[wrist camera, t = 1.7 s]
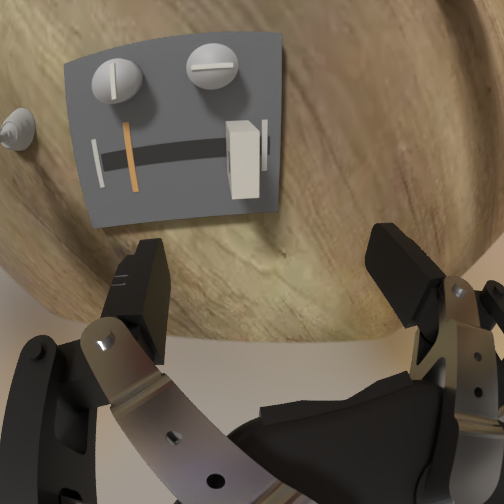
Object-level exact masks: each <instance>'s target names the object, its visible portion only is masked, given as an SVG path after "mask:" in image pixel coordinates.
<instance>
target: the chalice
mask: <svg viewBox="0 0 504 504" xmlns="http://www.w3.org/2000/svg"><path fill="white" fill-rule="evenodd" d="M34 134H35V122H34V118H33V116H32V114H31V113H30V111H29V110H27V109H25V108H18V109H16V110H15V111H13V112H12V113H11V115H10V116H9V117H8V118H7V119H6V120H5V121H4V123H3V125H2V127H1V130H0V143H2V145H3V146H4V147H5V148H7V149H8V150H16V151H22V150H25V149H26V148H27V147H29V145H30V144H31V142H32V141H33V137H34Z"/></svg>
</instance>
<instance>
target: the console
mask: <svg viewBox="0 0 504 504" xmlns="http://www.w3.org/2000/svg"><path fill="white" fill-rule="evenodd" d="M64 76H65V91H66V102H67V111H68V119H69V126H70V133H71V139H72V145H73V150H74V156H75V161H76V166H77V170H78V175H79V179H80V183H81V188H82V192H83V196H84V199H85V203H86V207H87V210H88V214H89V217H90V221H91V224H92V227H93V229H95V228H103V227H111V226H119V225H128V224H136V223H145V222H155V221H164V220H175V219H185V218H196V217H208V216H220V215H233V214H248V213H263V212H278V198H279V173H280V142H281V99H282V33H271V32H212V33H198V34H187V35H179V36H171V37H164V38H158V39H152V40H147V41H142V42H137V43H132V44H128V45H124V46H120V47H116V48H112V49H108V50H105V51H101V52H98V53H95V54H91V55H88V56H85V57H82V58H79V59H77V60H74V61H71V62H68V63H66V64H64ZM240 120H249V121H250V122H251V123H252V124H253V125H254V126H255V127H256V128H257V129H258V130H259V131H260V153H259V198H246V199H232V196H231V191H230V185H229V180H228V174H227V151H226V121H240Z"/></svg>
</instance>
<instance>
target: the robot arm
mask: <svg viewBox="0 0 504 504" xmlns="http://www.w3.org/2000/svg"><path fill="white" fill-rule="evenodd" d="M365 266H366V269H367V271H368V272H369V274H370V275H371V277H372V278H373V280H374V281H375V283H376V284H377V285H378V287H379V288H380V290H381V291H382V293H383V294H384V296H385V297H386V299H387V300H388V302H389V304H390V305H391V307H392V308H393V310H394V311H395V313H396V314H397V316H398V318H399V319H400V321H401V322H402V324H403V326H404V327H405V328H409V327H412V326H416V325H417V326H418V329H417V331H416V333H415V339H414V348H413V355H412V362H411V368H410V373H409V374H408V372H407V371H404V372H402V373H399V374H396V375H393V376H390V377H388V378H385V379H381V380H378V381H376V382H375V383H374V384H372V385H370V386H369V387H367V388H365V389H364V390H362V391H361V392H359V393H357V394H356V395H354V396H352V397H350V398H349V399H347V400H342V401H307V400H301V401H296V402H290V403H285V404H280V405H272V406H266V407H260V412H259V417H258V418H255V419H253V420H250V421H249V422H246V423H245V424H243V425H241V426H239V427H238V428H236V429H235V430H234V431H232V432H231V433H230V434H229V435H227V436H225V435H224V434H223V433H222V432H221V431H220V430H219V429H218V428H217V427H216V426H215V425H214V424H213V423H212V422H211V421H210V420H209V419H208V418H207V417H206V416H205V415H204V414H202V412H201V411H200V410H199V409H198V408H197V407H196V406H195V405H194V404H193V403H192V402H191V401H190V400H189V399H188V398H187V397H186V396H185V394H184V393H183V392H182V391H181V390H180V389H179V388H178V387H177V385H176V384H175V383H174V382H173V381H172V380H171V379H170V378H169V377H168V376H167V375H166V374H165V373H163V374H162V373H161V372H160V371H159V369H158V368H157V367H156V366H155V365H164V356H165V342H166V331H167V320H168V310H169V300H170V292H171V280H170V273H169V269H168V264H167V260H166V255H165V250H164V246H163V242H162V239H161V238H155V239H145V240H140V241H139V244H138V247H137V250H136V252H135V255H127V256H126V257H125V258H124V260H123V261H122V262H121V263H120V264H119V265H118V268H117V271H116V273H115V277H114V279H113V281H112V286H111V287H110V290H109V293H108V296H107V299H106V302H105V305H104V308H103V311H102V314H101V317H100V319H97V320H95V321H93V322H92V323H90V324H89V325H88V326H87V327H86V328H85V330H84V331H83V333H82V336H81V339H79V340H76V341H72V342H69V343H65V344H62V345H58V346H57V344H56V343H55V342H54V340H53V339H52V338H51V337H49V336H46V335H40V336H36V337H34V338H32V339H30V340H29V341H28V342H27V343H26V344H25V346H24V347H23V349H22V351H21V353H20V357H19V360H18V363H17V366H16V369H15V373H14V376H13V380H12V384H11V388H10V391H9V396H8V400H7V405H6V410H5V415H4V421H3V426H2V433H1V440H0V504H97V496H96V478H95V441H96V419H97V407H100V406H103V405H108V404H111V407H110V410H111V412H112V414H113V416H114V418H115V419H116V421H117V422H118V424H119V425H120V427H121V429H122V430H123V432H124V433H125V435H126V436H127V437H128V439H129V440H130V442H131V443H132V445H133V446H134V447H135V449H136V450H137V451H138V453H139V454H140V455H141V457H142V458H143V459H144V461H145V462H146V463H147V465H148V466H149V467H150V468H151V469H152V471H153V472H154V473H155V474H156V476H157V477H158V478H159V479H160V480H161V481H162V482H163V484H164V485H165V486H166V487H167V488H168V489H169V490H170V491H171V493H173V495H174V496H175V497H176V498H177V500H176V502H175V503H174V504H504V358H503V360H502V361H501V360H500V358H499V356H498V355H497V353H496V351H495V345H494V338H493V334H492V332H491V330H492V329H493V327H494V326H495V325H496V323H497V324H498V326H499V327H500V329H501V330H502V332H503V333H504V286H503V285H501V284H500V283H498V282H496V281H493V280H489V281H487V283H486V284H485V286H484V288H483V290H482V291H476V290H473V288H472V287H471V286H470V284H469V283H468V282H467V281H465V280H464V279H462V278H460V277H457V276H446V275H445V274H444V273H443V272H442V271H441V270H440V268H439V267H438V266H437V265H436V264H435V263H434V262H433V261H432V260H431V259H430V258H429V256H427V254H426V253H425V252H424V251H423V250H421V248H420V247H419V246H418V245H417V244H416V243H415V242H414V241H413V240H412V239H410V238H408V237H407V236H406V235H405V234H404V233H403V232H402V231H401V230H400V229H399V228H398V227H397V226H396V225H395V224H393V223H376V224H375V225H374V226H373V228H372V231H371V235H370V239H369V243H368V247H367V251H366V254H365Z"/></svg>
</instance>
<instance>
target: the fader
mask: <svg viewBox="0 0 504 504" xmlns="http://www.w3.org/2000/svg"><path fill="white" fill-rule="evenodd" d="M226 151H227V174H228V180H229V185H230V191H231V196H232V199H246V198H259V153H260V131H259V130H258V129H257V128H256V127H255V126H254V125H253V124H252V123H251V122H250V121H249V120H240V121H226Z"/></svg>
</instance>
